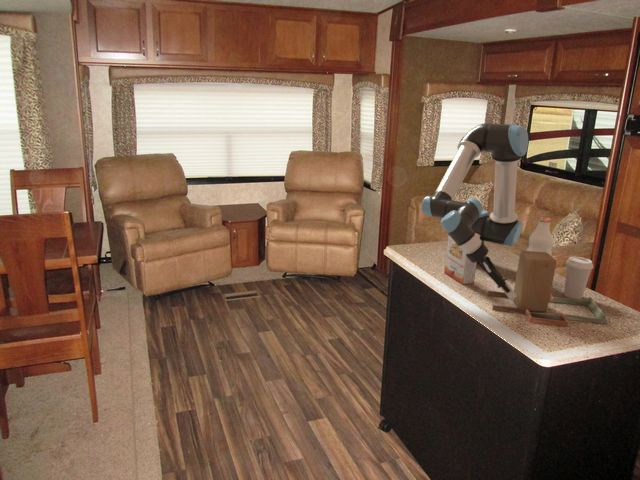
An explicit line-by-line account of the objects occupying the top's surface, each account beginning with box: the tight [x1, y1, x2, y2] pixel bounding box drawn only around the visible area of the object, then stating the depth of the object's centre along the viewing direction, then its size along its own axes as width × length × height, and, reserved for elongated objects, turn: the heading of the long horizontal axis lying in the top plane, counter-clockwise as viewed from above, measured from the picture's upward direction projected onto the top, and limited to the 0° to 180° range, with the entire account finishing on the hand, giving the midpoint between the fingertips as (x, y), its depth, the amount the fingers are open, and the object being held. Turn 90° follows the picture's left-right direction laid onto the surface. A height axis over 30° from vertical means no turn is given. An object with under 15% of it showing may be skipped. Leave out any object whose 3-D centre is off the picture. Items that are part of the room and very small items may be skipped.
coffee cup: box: [563, 256, 594, 300], centre depth 191 cm, size 10×10×15 cm
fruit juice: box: [526, 216, 554, 256], centre depth 200 cm, size 9×9×28 cm
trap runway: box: [487, 290, 607, 328], centre depth 181 cm, size 29×37×3 cm
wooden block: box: [512, 250, 557, 313], centre depth 179 cm, size 10×10×20 cm
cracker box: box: [444, 234, 480, 285], centre depth 204 cm, size 14×6×21 cm, turn 18°
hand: (513, 297), depth 181 cm, fingers closed
